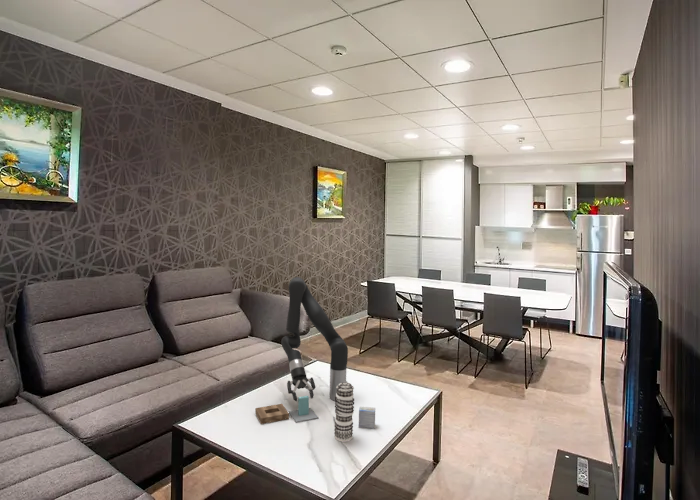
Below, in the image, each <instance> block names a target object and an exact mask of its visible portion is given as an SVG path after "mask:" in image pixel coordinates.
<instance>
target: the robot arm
mask: <svg viewBox="0 0 700 500" xmlns="http://www.w3.org/2000/svg"><path fill="white" fill-rule="evenodd" d="M288 293H289V294H288V295H289V296H288V297H289V305H288V311H287V317H286V326H285V327H286V331H287V332H288V333H291V334H293V335H285V336H283V337H282V338H281V341H280V343H281V347H282V349H283V351H284V353H285V355H286V357H287V361H288V367H289V371H290V375H291V380H292V381H291V380H287V382H286V387H287V393H288V394H290V395H292V399H293V401H294V402H298V396H297V389H298V390H300V389H305V390H308V391H309V392H308V393H309V396H310V397H309V398H310V399H313V398H314V395H315V393H314V390H315V389H316V384H315V380H314V377H310V378H308V377H307V373H306V370H305V364H304V363H303V362H304V361H303V359H302V354H301V352H300V351H299V350H297V349H298V348H299V347H300V345H301V343H302V342H301V337H300V336H301V334H300V321H301V305H302V307H303V309H304V311H305V313H306V316H307V318H308V319H309V320H310V322H311V323H312V325H313V326H314V328H316V331H318V332H319V333H320V334H321V335H322V337H324V339H325V341H326V342H327V344H328V346H329V349H330V353H331V354H330V364H329V369H330V370H329V396H328V397H329V400H331V401H334V402H335V396H336V393H337V388H336V387H337V386H338V385H339V384H340V383H342V382H347V383H348V381H347V366H348V358H349V357H348V355H349V349H348V346H347V343H346V342H345V339H343V337H341V335H340V334H339V333H338V332H337V330H336V329H335V327H334V325H333V323H332V321H331V320H330V318H329V315H327V313H326V312H325V310H324V308H323V307H322V306H321V304H320V303H319V302H318V301H317V300H316V299H315V296H314V295H313V294H312V293H311V291H310V289H309V288H308V285H307V284H306V281H305V280H304V279H303V278H302V277H299V276H297V277H293V278H292V279H291V280H290V281H289V284H288ZM292 385H293V386H294V387H293V389H292ZM336 400H337V399H336Z"/></svg>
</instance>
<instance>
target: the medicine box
mask: <svg viewBox="0 0 700 500" xmlns="http://www.w3.org/2000/svg"><path fill="white" fill-rule="evenodd" d="M375 425H376V407H369V406H359V409H358V428H365V429H375V428H376V427H375Z"/></svg>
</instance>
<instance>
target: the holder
mask: <svg viewBox="0 0 700 500" xmlns="http://www.w3.org/2000/svg"><path fill="white" fill-rule="evenodd" d="M254 412H255V416H256V417H257V419H258V421H259V423H260V425H265V424H271V423H276V422H282V421H287V420H289V419H290V414H289V413H288V410H287V409H286V407H285V406H284V404H283V403H277V404H272V405H266V406H261V407H260V406H259V407H256V408H255V411H254Z"/></svg>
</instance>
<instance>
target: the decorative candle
mask: <svg viewBox="0 0 700 500" xmlns="http://www.w3.org/2000/svg"><path fill="white" fill-rule="evenodd" d="M336 388H337V393H336V396H335V401H334V402H335V403H334V409H335V410H334V412H335V421H334V430H333V431H334V433H333V434H334V439H335V440H336V441H338V442H343V443H344V442H349V441H351V440H352V439H353V434H354V433H353V431H354V429H353V428H354V426H353V425H354V422H353V421H354V419H353V414H354V411H355V410H354V409H355V406H354V405H355V398H354V393H353V392H354V389H355V387H354V385H352V384H351V383H350V382H348V381H347V382H342V383H340V384H339V385H338V386H337V387H336ZM336 399H337V400H336Z"/></svg>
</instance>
